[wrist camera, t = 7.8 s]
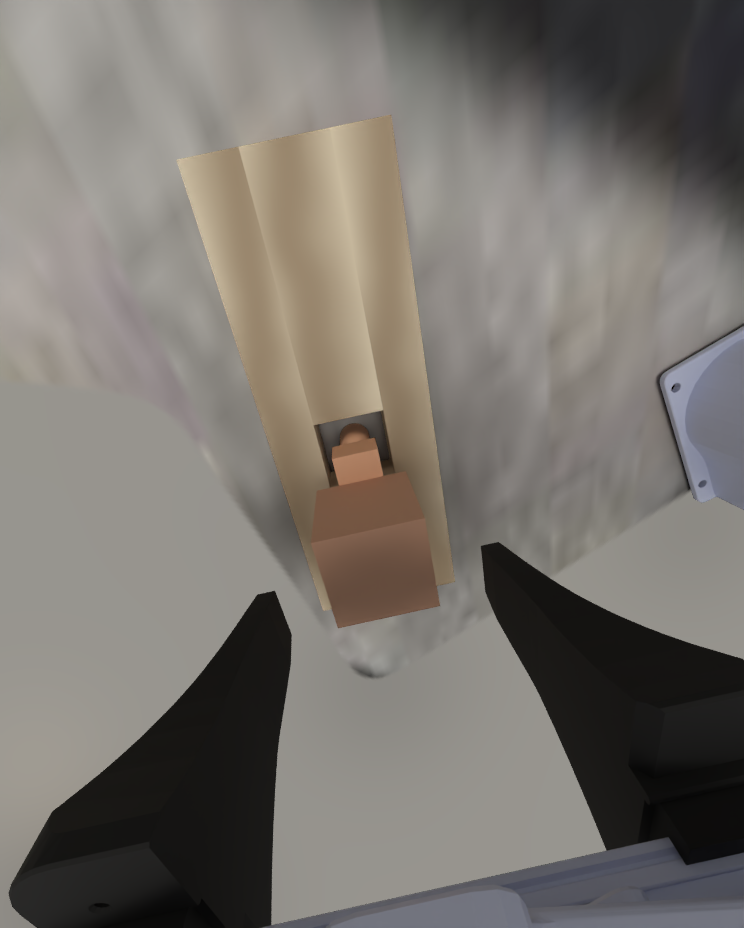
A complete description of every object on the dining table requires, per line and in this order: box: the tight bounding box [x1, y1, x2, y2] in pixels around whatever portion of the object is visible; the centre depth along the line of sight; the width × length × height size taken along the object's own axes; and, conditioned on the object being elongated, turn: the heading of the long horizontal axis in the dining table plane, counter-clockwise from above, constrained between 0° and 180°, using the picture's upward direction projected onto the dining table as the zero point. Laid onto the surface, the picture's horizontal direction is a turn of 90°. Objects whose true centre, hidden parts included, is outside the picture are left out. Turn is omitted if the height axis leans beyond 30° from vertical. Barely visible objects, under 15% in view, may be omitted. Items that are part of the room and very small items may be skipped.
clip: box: [311, 423, 440, 628], centre depth 18 cm, size 4×7×8 cm, turn 12°
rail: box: [177, 115, 455, 611], centre depth 19 cm, size 8×22×2 cm, turn 11°
